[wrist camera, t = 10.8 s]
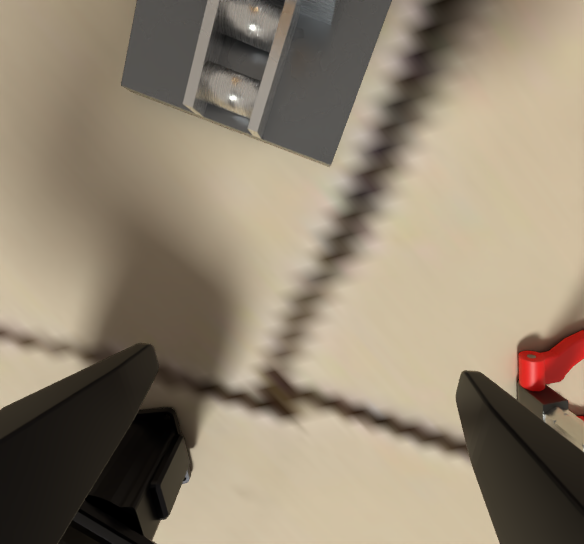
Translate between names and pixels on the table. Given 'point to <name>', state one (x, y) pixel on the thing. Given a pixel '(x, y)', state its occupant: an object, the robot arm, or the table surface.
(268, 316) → the table surface
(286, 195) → the table surface
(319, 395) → the table surface
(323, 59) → the grey fixture tray
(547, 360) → the tow hook
